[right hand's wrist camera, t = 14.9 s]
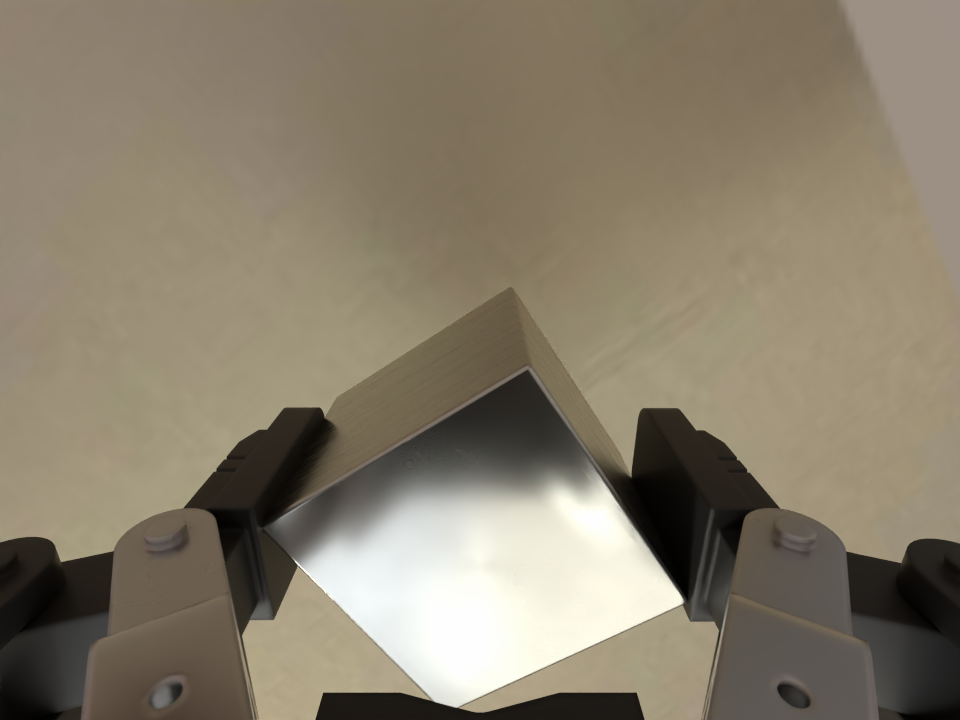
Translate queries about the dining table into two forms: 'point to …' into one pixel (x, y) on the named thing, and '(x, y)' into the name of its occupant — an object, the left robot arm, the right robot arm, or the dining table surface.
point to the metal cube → (474, 511)
